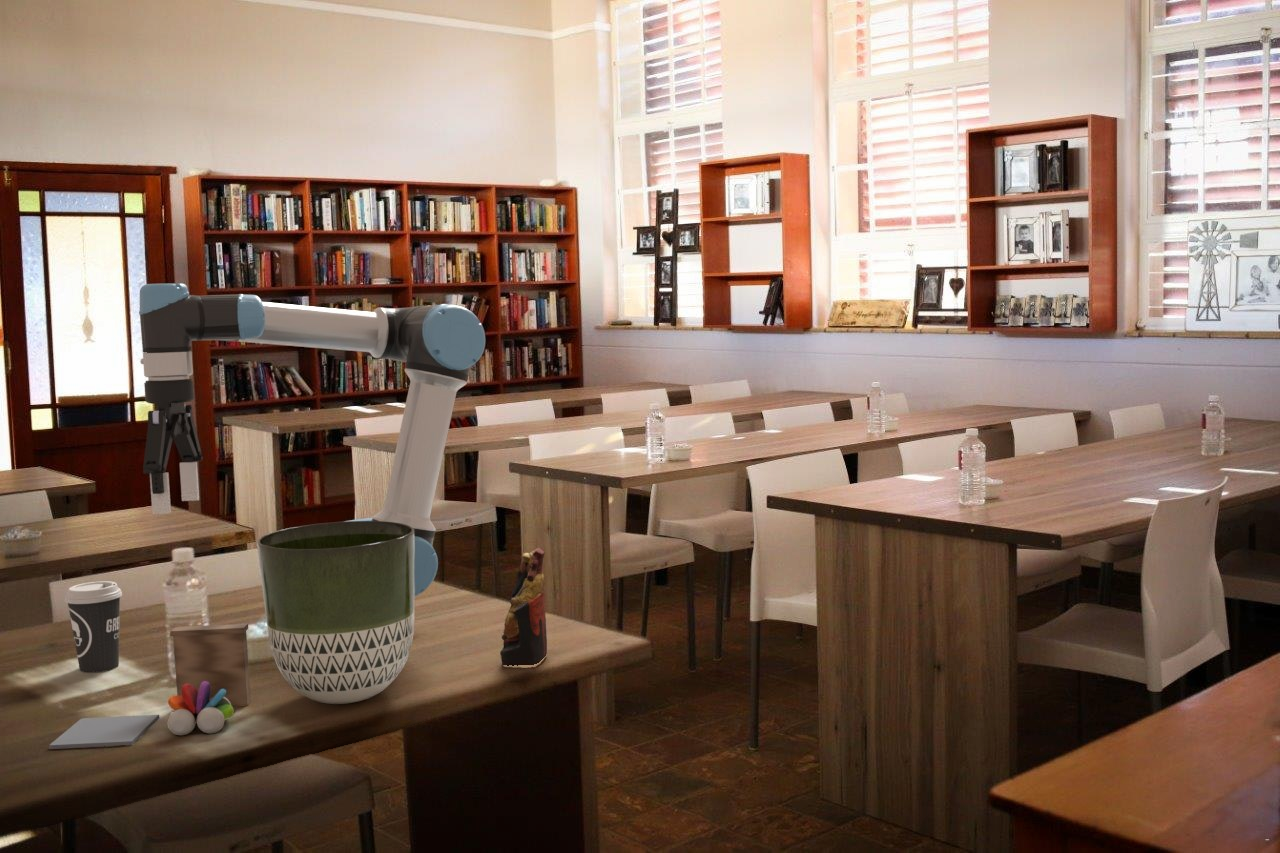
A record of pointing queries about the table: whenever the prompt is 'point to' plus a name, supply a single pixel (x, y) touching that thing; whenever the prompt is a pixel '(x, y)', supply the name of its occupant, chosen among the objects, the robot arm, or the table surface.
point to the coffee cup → (95, 624)
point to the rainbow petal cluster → (198, 710)
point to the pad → (104, 731)
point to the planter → (339, 606)
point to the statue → (526, 615)
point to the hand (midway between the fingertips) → (176, 506)
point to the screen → (213, 660)
